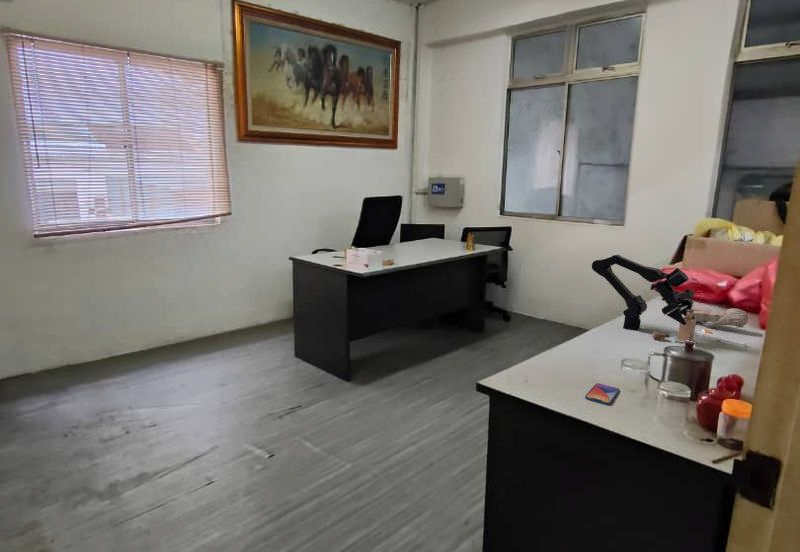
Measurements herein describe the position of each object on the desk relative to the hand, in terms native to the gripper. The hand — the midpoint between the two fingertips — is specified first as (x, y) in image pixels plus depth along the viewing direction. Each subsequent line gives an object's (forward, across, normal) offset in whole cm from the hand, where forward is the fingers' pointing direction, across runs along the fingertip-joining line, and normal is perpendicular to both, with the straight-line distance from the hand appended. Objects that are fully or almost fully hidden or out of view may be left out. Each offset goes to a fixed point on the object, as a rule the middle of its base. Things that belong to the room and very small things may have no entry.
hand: (689, 323), depth 212 cm
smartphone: (+13, -86, 0) cm, 87 cm away
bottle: (+5, 0, +6) cm, 8 cm away
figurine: (+3, +39, +10) cm, 41 cm away
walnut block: (0, -7, +12) cm, 14 cm away
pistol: (+11, +20, +2) cm, 23 cm away
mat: (+6, 0, +7) cm, 9 cm away
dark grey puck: (-2, +1, +14) cm, 14 cm away
